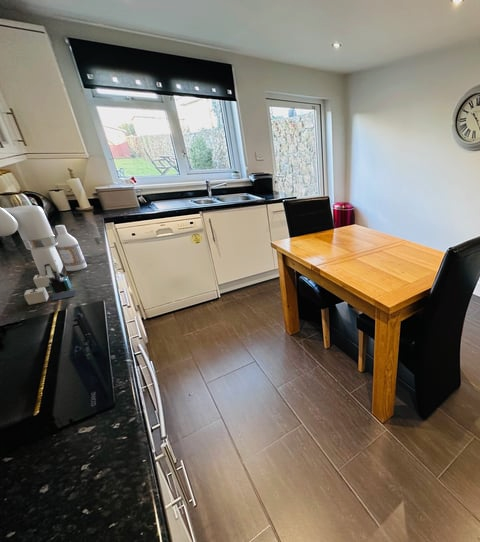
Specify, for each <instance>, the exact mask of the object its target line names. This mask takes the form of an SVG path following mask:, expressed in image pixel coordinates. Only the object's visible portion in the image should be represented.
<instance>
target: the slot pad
mask: <svg viewBox="0 0 480 542" xmlns="http://www.w3.org/2000/svg"><path fill="white" fill-rule="evenodd" d="M76 292H77V290H75V289H73V290H68V291H64V292H59V293H53V295H52V298H51V302H54V301H58V300H59V301H60V300H63V299H64V300H65V299H68V298H73V297H75V296H76Z"/></svg>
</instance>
